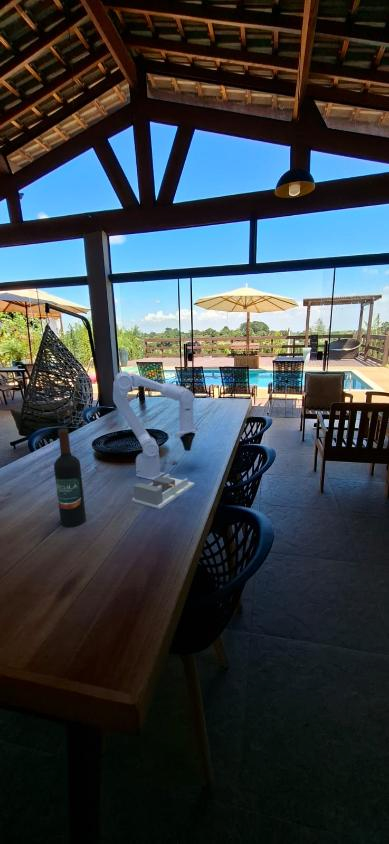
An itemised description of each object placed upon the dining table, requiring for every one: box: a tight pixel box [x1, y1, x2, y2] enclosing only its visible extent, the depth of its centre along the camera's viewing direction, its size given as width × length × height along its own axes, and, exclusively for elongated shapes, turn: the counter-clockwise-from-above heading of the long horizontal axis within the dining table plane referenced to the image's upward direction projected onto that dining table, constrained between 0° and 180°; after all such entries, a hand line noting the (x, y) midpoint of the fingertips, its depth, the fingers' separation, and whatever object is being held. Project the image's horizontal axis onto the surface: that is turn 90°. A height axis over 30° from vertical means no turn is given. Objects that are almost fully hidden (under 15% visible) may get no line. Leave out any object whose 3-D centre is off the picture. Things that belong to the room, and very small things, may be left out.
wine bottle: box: [53, 428, 87, 528], centre depth 112 cm, size 8×8×30 cm
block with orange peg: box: [152, 475, 175, 492], centre depth 132 cm, size 9×7×4 cm
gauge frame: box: [131, 473, 195, 509], centre depth 134 cm, size 12×22×6 cm, turn 148°
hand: (187, 450), depth 152 cm, fingers closed
